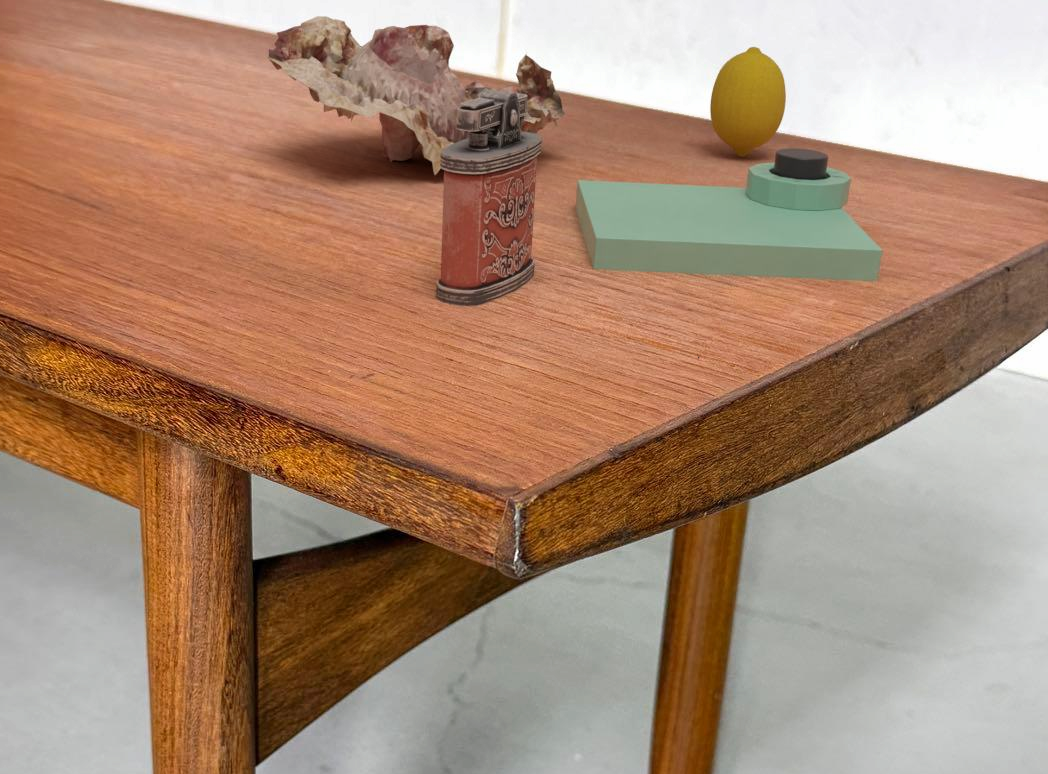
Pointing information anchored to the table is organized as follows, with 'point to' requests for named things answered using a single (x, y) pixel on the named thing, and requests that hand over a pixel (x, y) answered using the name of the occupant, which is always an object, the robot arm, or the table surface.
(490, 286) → the lighter
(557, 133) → the table surface
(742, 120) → the lemon
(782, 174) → the power button
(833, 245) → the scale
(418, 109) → the mineral formation
